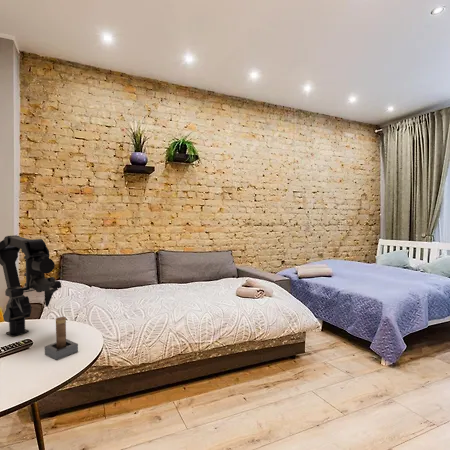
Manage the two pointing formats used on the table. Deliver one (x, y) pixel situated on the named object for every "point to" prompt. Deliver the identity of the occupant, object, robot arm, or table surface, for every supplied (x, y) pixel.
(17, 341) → the table surface
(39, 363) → the table surface
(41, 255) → the robot arm
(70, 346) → the socket block
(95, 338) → the table surface
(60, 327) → the pin
